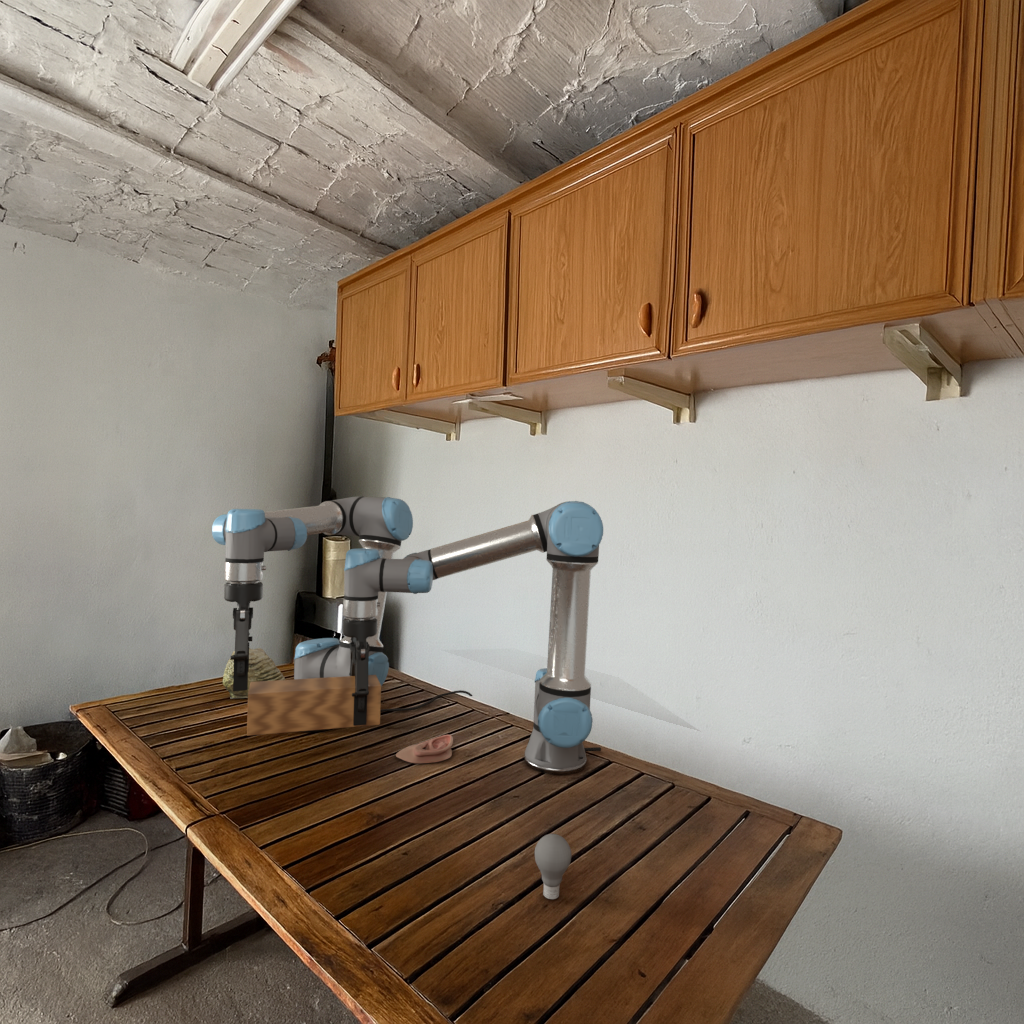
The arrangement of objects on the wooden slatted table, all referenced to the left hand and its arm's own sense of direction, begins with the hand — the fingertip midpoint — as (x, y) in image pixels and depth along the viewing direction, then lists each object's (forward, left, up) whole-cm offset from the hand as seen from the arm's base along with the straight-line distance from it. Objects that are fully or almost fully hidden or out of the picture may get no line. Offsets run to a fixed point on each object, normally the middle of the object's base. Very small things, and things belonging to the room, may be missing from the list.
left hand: (241, 680), depth 135 cm
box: (-13, +9, -10) cm, 18 cm away
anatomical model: (-40, +15, -23) cm, 49 cm away
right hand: (-20, +14, -9) cm, 26 cm away
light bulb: (-15, +71, -23) cm, 77 cm away
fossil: (-35, -56, -23) cm, 70 cm away
